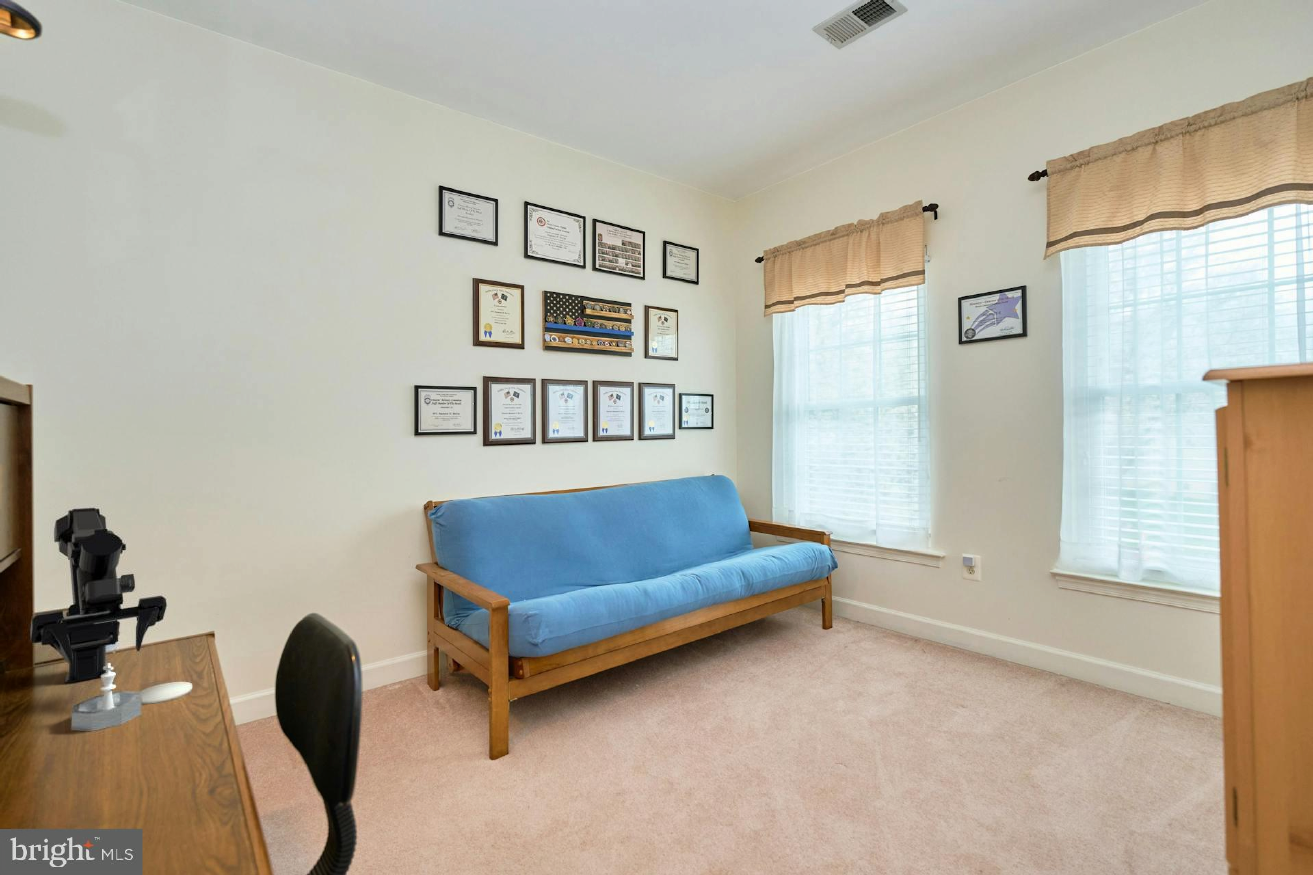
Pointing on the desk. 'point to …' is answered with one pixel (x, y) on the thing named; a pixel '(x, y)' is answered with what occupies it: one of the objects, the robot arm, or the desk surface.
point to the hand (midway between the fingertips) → (106, 656)
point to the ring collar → (106, 711)
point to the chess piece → (108, 687)
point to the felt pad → (165, 692)
